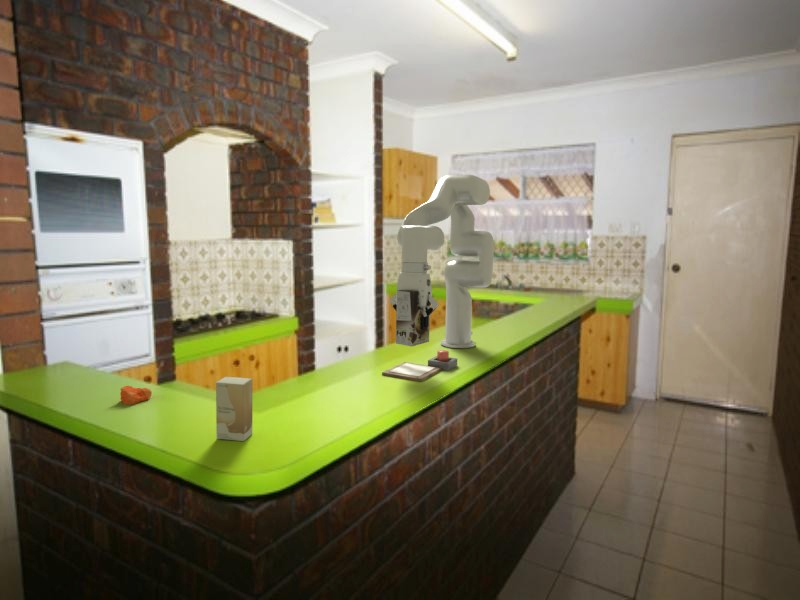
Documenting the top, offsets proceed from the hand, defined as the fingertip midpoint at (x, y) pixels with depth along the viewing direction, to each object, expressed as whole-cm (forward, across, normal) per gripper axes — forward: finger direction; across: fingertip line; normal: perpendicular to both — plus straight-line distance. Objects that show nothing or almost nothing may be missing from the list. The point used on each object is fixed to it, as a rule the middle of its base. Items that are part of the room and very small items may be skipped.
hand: (413, 327), depth 157 cm
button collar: (+14, -5, -11) cm, 18 cm away
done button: (+12, -5, -11) cm, 17 cm away
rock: (+15, +47, +58) cm, 77 cm away
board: (+14, 0, 0) cm, 14 cm away
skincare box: (+15, +9, +62) cm, 64 cm away
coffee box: (+5, 0, 0) cm, 5 cm away
